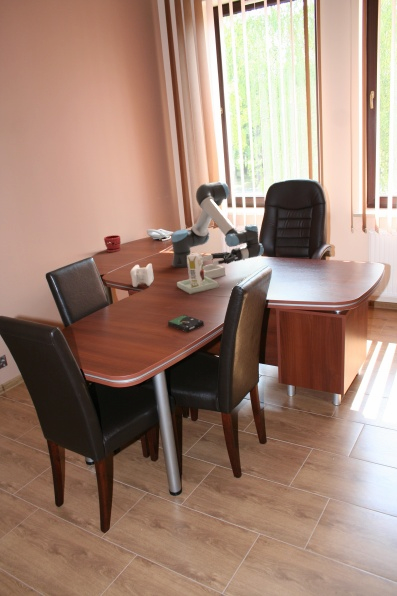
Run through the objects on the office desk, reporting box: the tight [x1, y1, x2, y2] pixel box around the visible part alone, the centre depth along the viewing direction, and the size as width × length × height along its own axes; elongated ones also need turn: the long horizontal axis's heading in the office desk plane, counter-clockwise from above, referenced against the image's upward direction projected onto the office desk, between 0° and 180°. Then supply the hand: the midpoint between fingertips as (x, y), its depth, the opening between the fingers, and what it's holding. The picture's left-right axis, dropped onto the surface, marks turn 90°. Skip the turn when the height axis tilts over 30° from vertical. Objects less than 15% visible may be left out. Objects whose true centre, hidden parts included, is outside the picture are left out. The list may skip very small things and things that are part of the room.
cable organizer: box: [129, 263, 155, 288], centre depth 301 cm, size 15×11×12 cm
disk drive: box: [167, 314, 205, 333], centre depth 231 cm, size 10×3×15 cm
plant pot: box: [103, 234, 122, 253], centre depth 404 cm, size 13×13×12 cm
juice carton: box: [187, 252, 205, 287], centre depth 283 cm, size 8×9×19 cm
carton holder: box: [203, 263, 226, 280], centre depth 305 cm, size 13×13×5 cm
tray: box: [176, 276, 219, 295], centre depth 285 cm, size 18×18×3 cm
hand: (207, 261), depth 285 cm, fingers open, 13 cm apart
